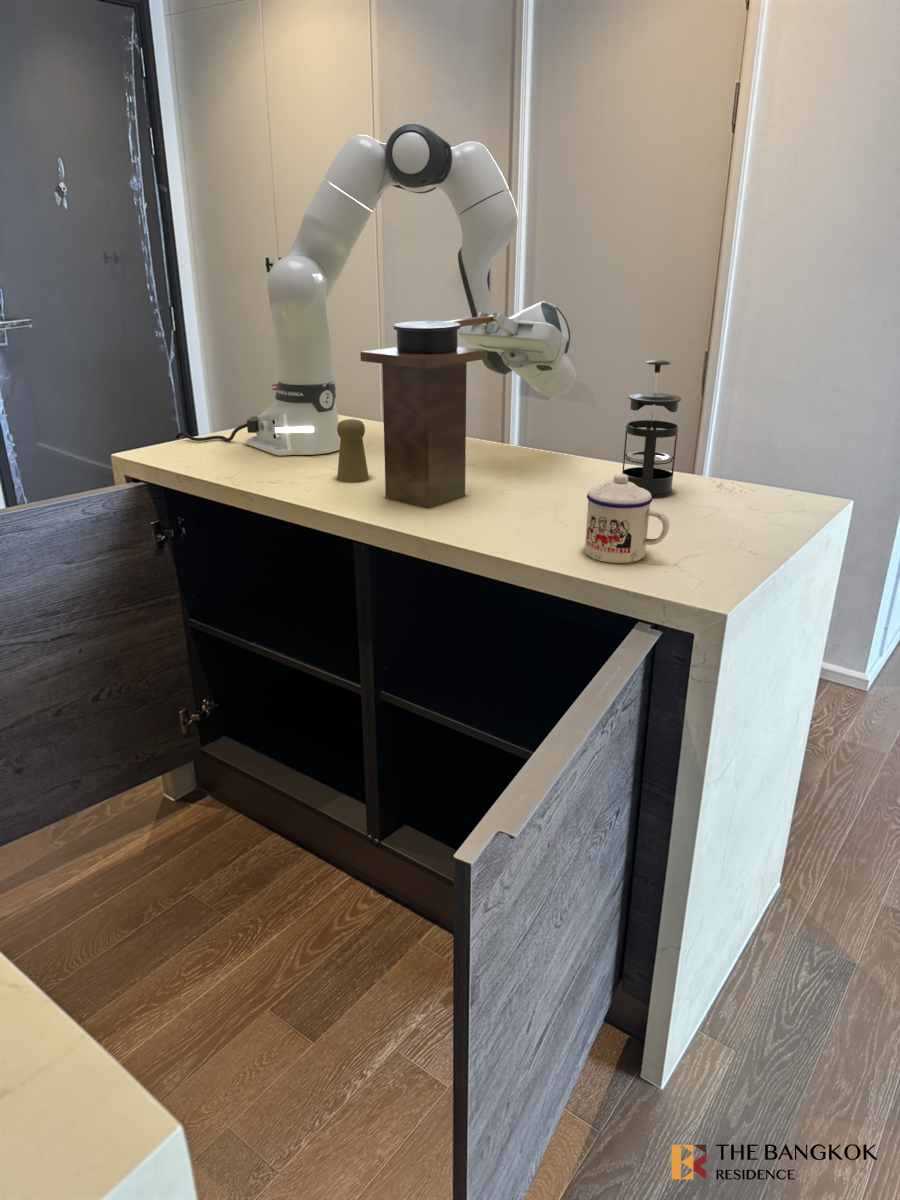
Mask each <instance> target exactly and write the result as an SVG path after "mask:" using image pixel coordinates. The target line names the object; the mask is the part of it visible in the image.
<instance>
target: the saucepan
mask: <svg viewBox="0 0 900 1200" xmlns="http://www.w3.org/2000/svg"><path fill="white" fill-rule="evenodd" d="M492 317H493V315H487V316H480V317H472V316H471V317H470V318H465V317H464V318H465V319H464V318H458V319H451V320H444V321H443V320H415V321H403V322H396V323H394V324H393V330H395V331H396V347H397V350H398V351H400V352H404V353H415V354H435V353H447V352H453V351H456V350H457V349H458V347H459V345H458V339H459V338H458V330H459V329H460V327H463V326H470V325H476V324H483V323H490V322H491V319H492Z"/></svg>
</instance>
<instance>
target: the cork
mask: <svg viewBox="0 0 900 1200" xmlns="http://www.w3.org/2000/svg"><path fill="white" fill-rule="evenodd" d="M337 432H338V436H339V437H340V438H341V439H340V450H338V451H339V452H338V453H339V454H338V463H337V464H338V465H337V477H336V479H337V480H338V481H340V482H345V483H360V482H364V481H367V480H369V479H370V476H369V470H368V463H367V458H366V452H365V446H364V440H363V438H364V436H365V434H366V427H365V424H364V422H363V421H361V420H359V419H355V418H354V419H353V418H352V419H350V418H349V419H343V420H340V421H339V424H338V426H337Z"/></svg>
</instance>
